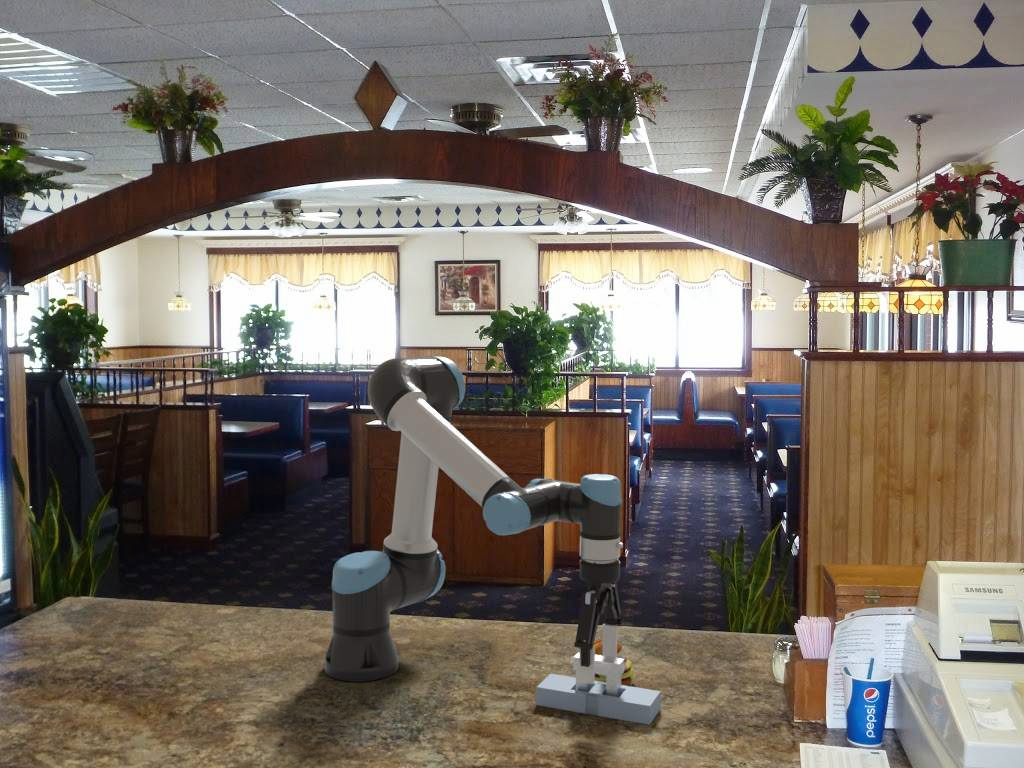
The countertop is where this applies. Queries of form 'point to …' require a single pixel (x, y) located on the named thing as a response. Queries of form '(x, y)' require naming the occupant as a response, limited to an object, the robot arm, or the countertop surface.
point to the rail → (599, 699)
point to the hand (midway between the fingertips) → (598, 669)
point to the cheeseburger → (628, 674)
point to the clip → (604, 667)
